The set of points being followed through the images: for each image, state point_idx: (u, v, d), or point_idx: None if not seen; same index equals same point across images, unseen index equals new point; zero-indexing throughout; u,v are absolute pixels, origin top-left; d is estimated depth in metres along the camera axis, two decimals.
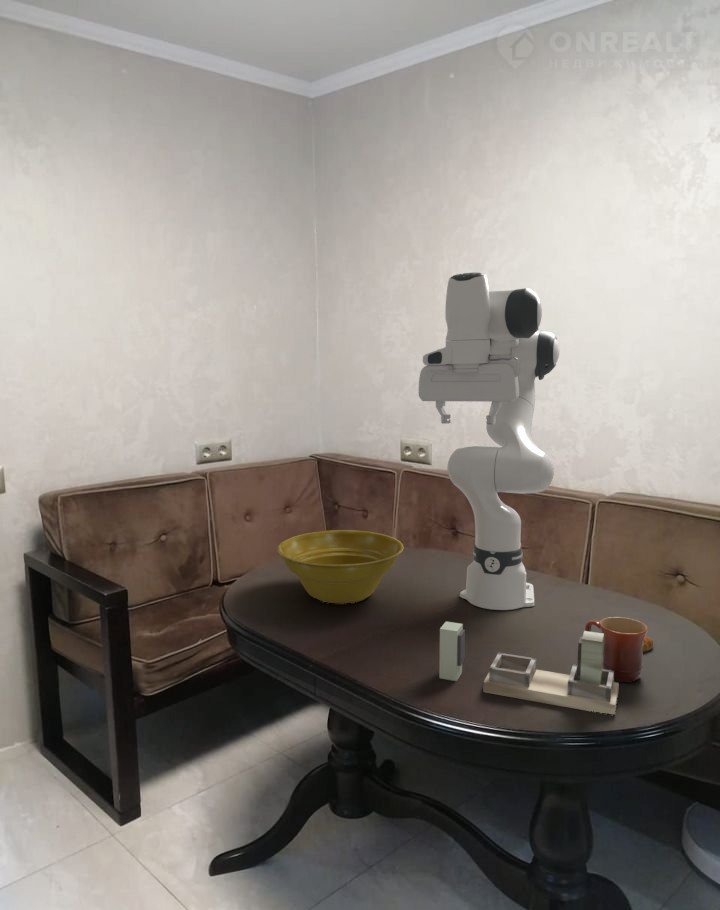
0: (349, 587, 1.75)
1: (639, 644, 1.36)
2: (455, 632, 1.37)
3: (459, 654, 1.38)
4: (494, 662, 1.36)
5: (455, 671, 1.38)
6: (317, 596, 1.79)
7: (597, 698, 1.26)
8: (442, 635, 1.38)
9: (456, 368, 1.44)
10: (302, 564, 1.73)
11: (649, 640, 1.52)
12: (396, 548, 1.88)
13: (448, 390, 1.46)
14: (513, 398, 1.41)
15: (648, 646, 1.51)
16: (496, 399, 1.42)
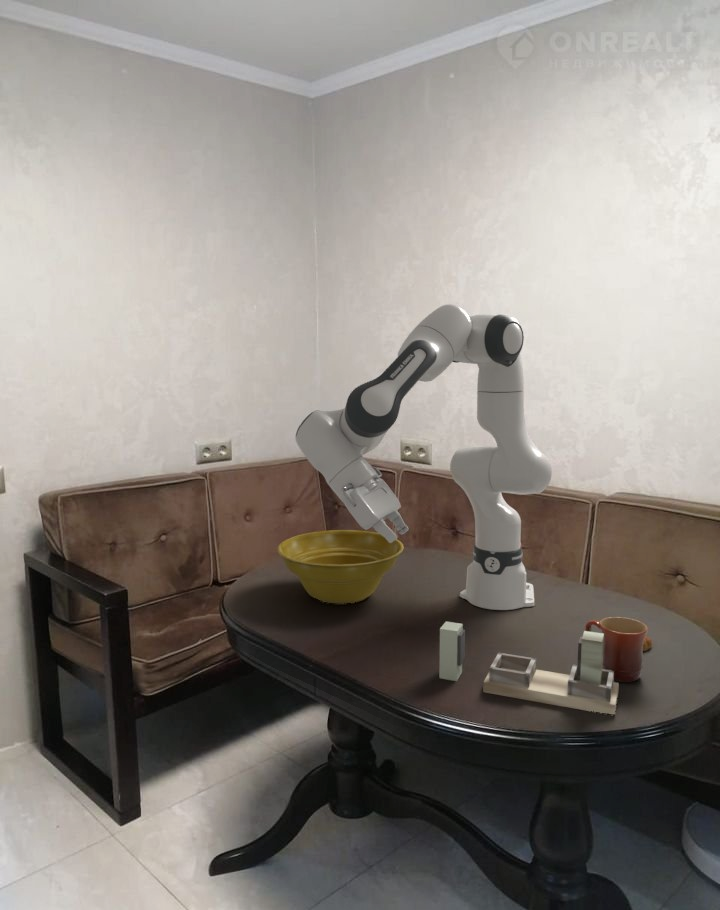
0: (349, 587, 1.75)
1: (639, 644, 1.36)
2: (455, 632, 1.37)
3: (459, 654, 1.38)
4: (494, 662, 1.36)
5: (455, 671, 1.38)
6: (317, 596, 1.79)
7: (597, 698, 1.26)
8: (442, 635, 1.38)
9: None
10: (302, 564, 1.73)
11: (648, 640, 1.52)
12: (396, 548, 1.88)
13: None
14: (363, 528, 1.33)
15: (647, 646, 1.52)
16: None
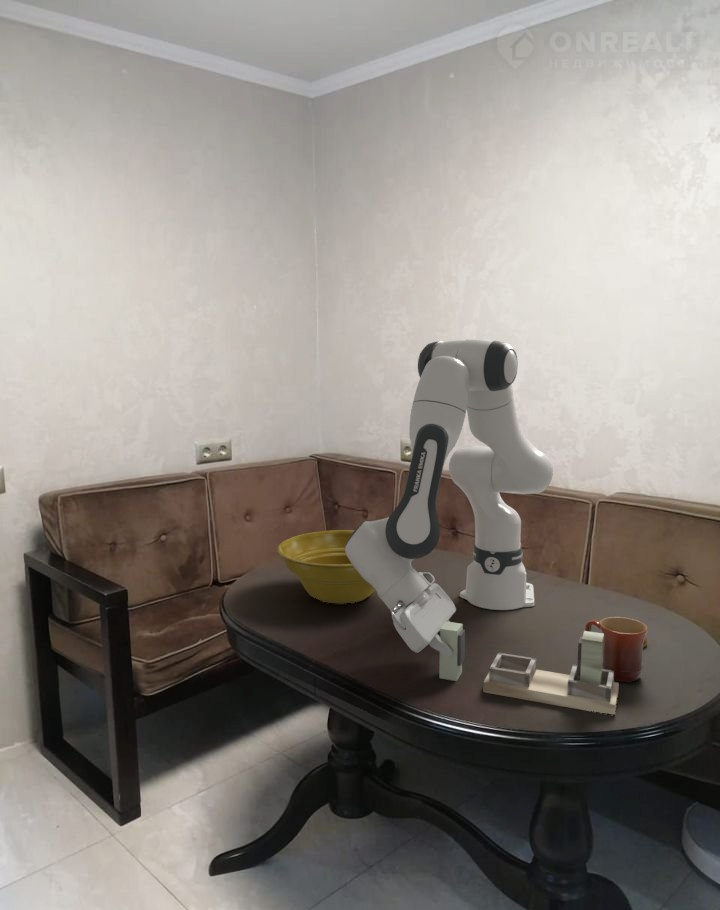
0: (349, 587, 1.75)
1: (639, 644, 1.36)
2: (455, 632, 1.37)
3: (459, 654, 1.38)
4: (494, 662, 1.36)
5: (455, 671, 1.38)
6: (317, 596, 1.79)
7: (597, 698, 1.26)
8: (442, 635, 1.38)
9: None
10: (302, 564, 1.73)
11: None
12: None
13: None
14: (414, 651, 1.32)
15: (643, 644, 1.53)
16: None
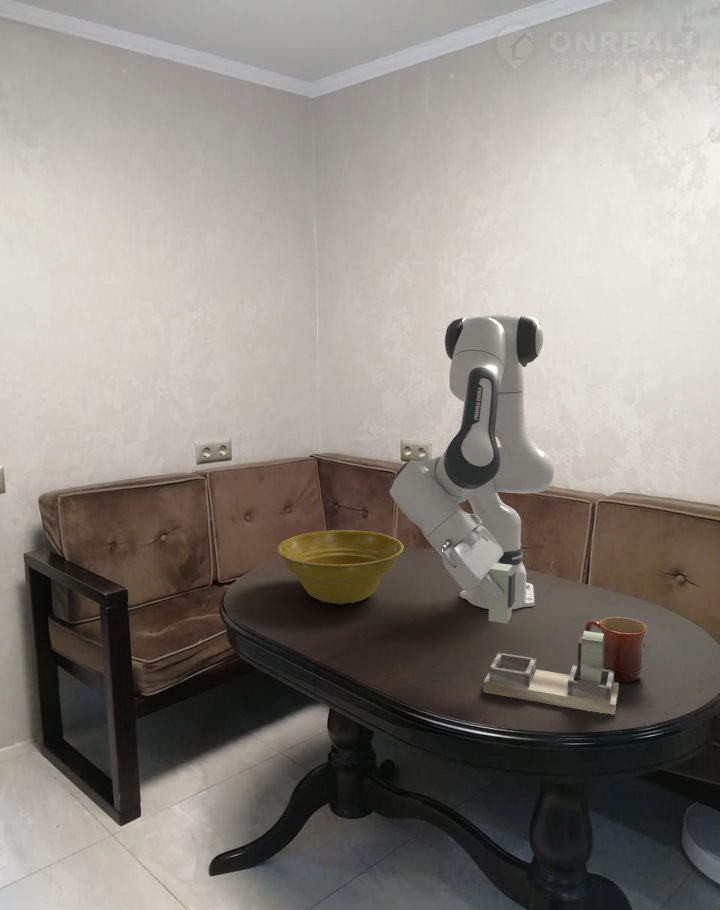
0: (349, 587, 1.75)
1: (639, 644, 1.36)
2: (506, 572, 1.31)
3: (510, 595, 1.32)
4: (494, 662, 1.36)
5: (505, 613, 1.32)
6: (317, 596, 1.79)
7: (597, 698, 1.26)
8: (492, 575, 1.33)
9: None
10: (302, 564, 1.73)
11: None
12: (396, 548, 1.88)
13: None
14: (465, 590, 1.27)
15: None
16: None
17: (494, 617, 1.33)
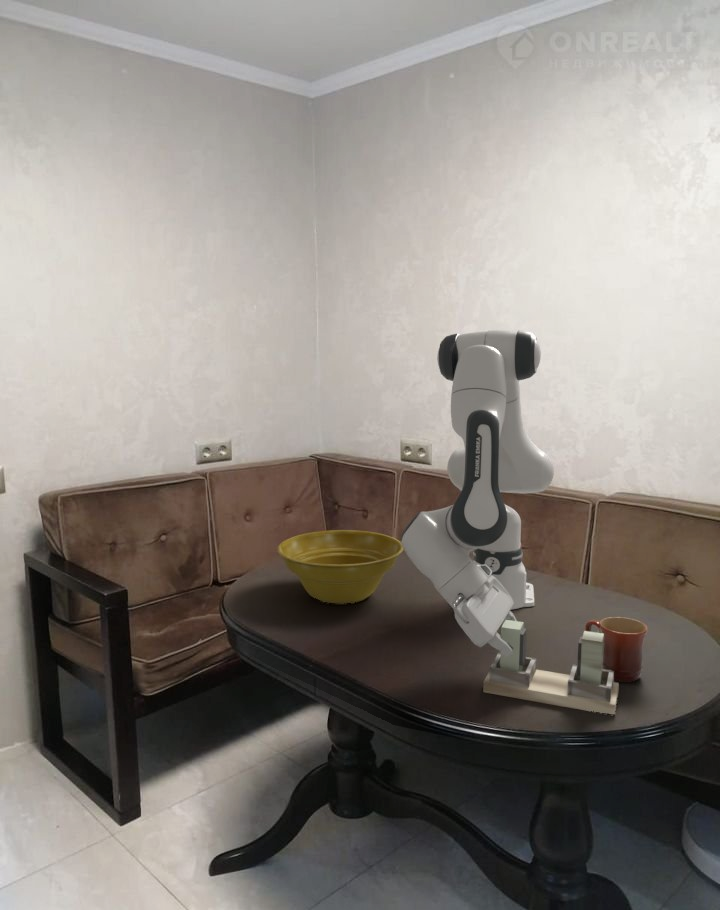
0: (349, 587, 1.75)
1: (639, 644, 1.36)
2: (517, 631, 1.32)
3: (521, 653, 1.33)
4: (494, 662, 1.36)
5: None
6: (317, 596, 1.79)
7: (597, 698, 1.26)
8: (503, 634, 1.33)
9: None
10: (302, 564, 1.73)
11: None
12: (396, 548, 1.88)
13: None
14: (477, 645, 1.27)
15: None
16: None
17: None
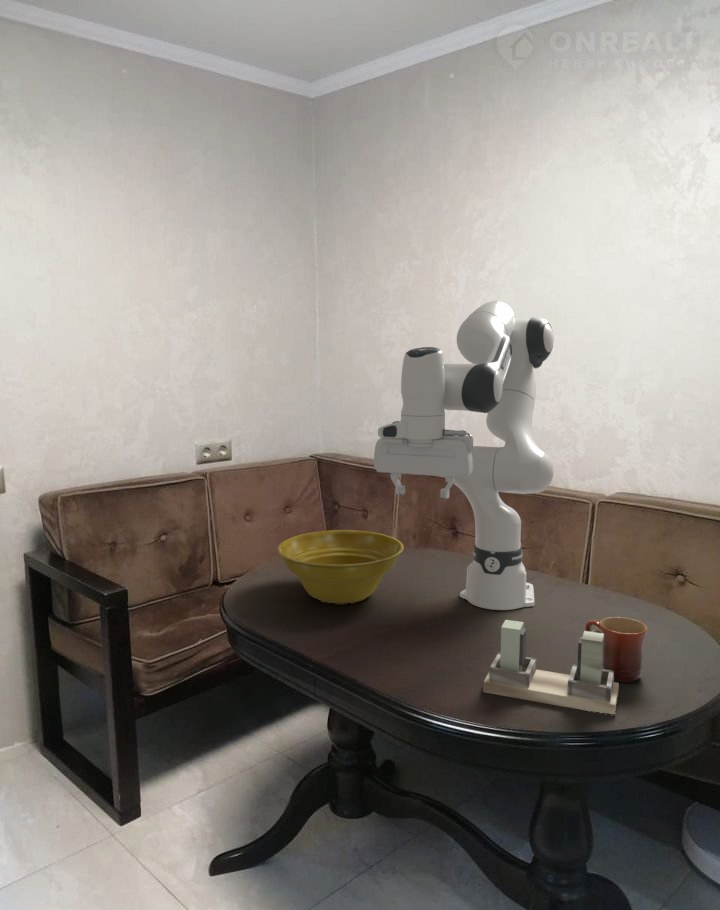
0: (349, 587, 1.75)
1: (639, 644, 1.36)
2: (517, 631, 1.32)
3: (521, 653, 1.33)
4: (494, 662, 1.36)
5: None
6: (317, 596, 1.79)
7: (597, 698, 1.26)
8: (503, 634, 1.33)
9: (411, 442, 1.44)
10: (302, 564, 1.73)
11: None
12: (396, 548, 1.88)
13: (403, 463, 1.46)
14: (466, 474, 1.42)
15: None
16: (449, 474, 1.43)
17: None
